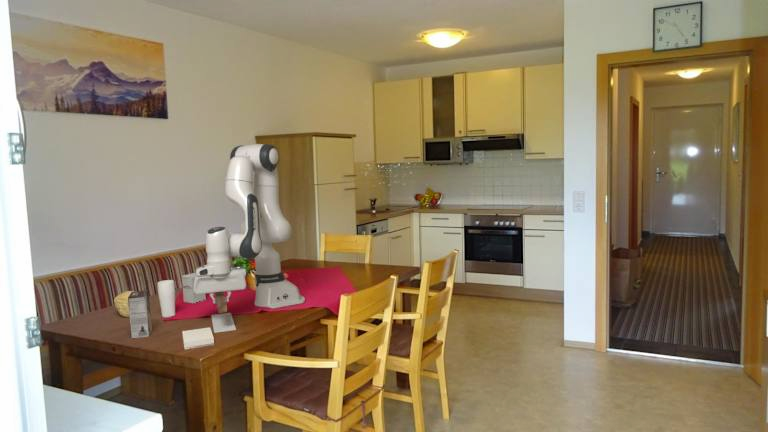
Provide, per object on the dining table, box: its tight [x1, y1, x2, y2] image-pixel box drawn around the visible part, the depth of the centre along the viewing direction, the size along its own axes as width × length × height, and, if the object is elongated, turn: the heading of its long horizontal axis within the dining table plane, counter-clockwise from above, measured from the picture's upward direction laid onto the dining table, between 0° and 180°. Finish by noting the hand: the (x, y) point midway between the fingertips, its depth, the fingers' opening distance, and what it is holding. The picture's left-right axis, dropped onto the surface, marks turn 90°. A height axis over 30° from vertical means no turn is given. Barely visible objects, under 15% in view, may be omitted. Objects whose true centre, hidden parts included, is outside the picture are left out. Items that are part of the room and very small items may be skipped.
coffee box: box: [128, 289, 153, 340], centre depth 214 cm, size 9×6×16 cm
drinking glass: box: [157, 279, 176, 319], centre depth 238 cm, size 7×7×15 cm
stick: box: [214, 291, 228, 314], centre depth 224 cm, size 3×22×4 cm, turn 19°
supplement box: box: [181, 272, 207, 304], centre depth 262 cm, size 7×7×13 cm
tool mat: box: [210, 312, 237, 334], centre depth 225 cm, size 8×26×1 cm, turn 19°
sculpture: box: [113, 290, 137, 318], centre depth 243 cm, size 12×12×11 cm
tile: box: [181, 327, 215, 350], centre depth 204 cm, size 10×3×14 cm
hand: (220, 302), depth 224 cm, fingers closed on stick, 3 cm apart
